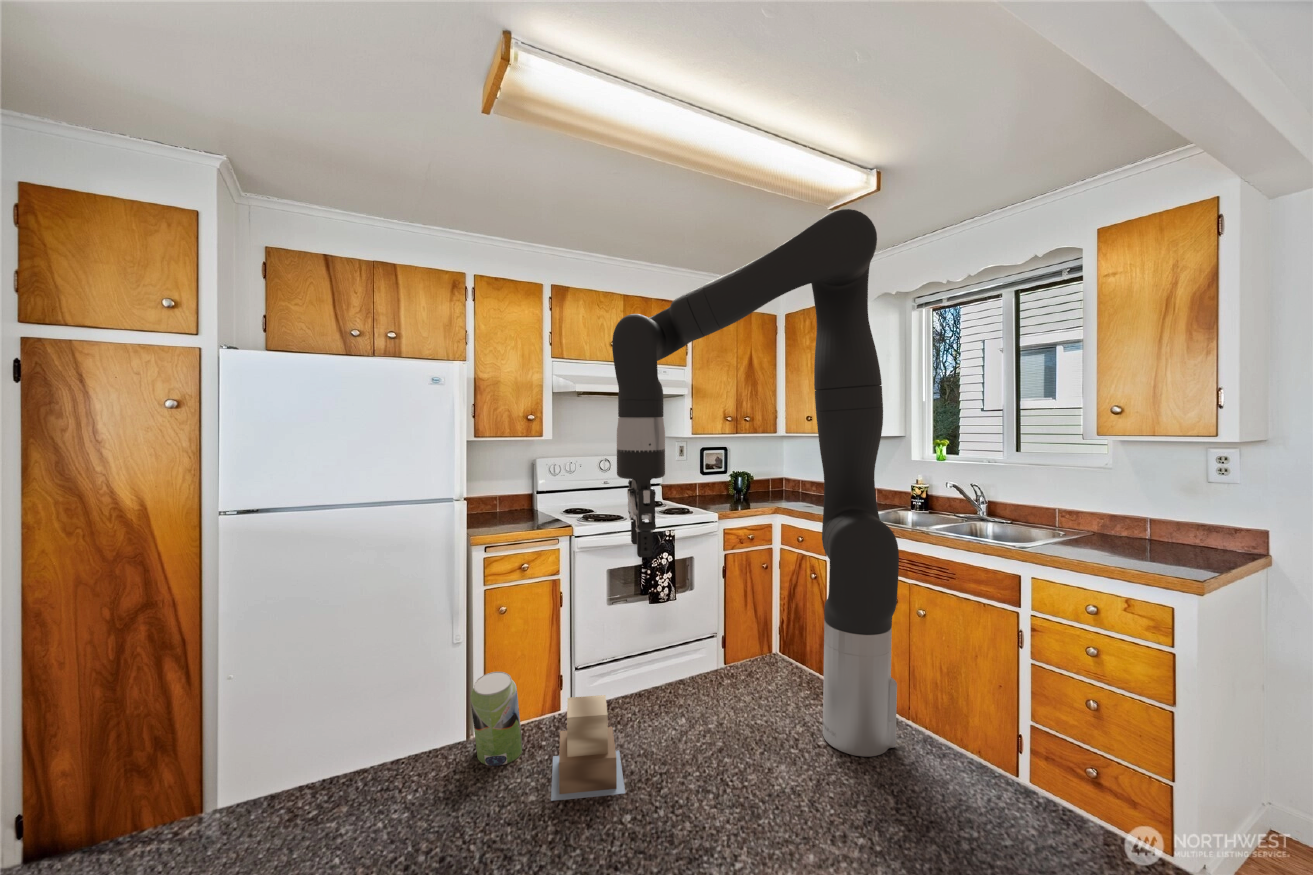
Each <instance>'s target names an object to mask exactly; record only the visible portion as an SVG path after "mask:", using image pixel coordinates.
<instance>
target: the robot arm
mask: <svg viewBox="0 0 1313 875" xmlns="http://www.w3.org/2000/svg"><path fill="white" fill-rule="evenodd" d="M877 244H878V233H877V229H876V226H875V224H874V223H873V220H872V219H871V218H869V216H868V215H866V214H864V213H863V212H861V211H858V210H856V209H852V208H841V209H836V210H833V211H831V212H829V213H827V214H825V215H824V216H822V217H821V218H819V219H818V220H817V221H815V222H813V223H812V224H810V225H809V226H807V227H806V228H805V229H803V230H802V231H800V232H799V233H797V234H796V235H794V236H792V237H791V238H790V239H788V240H787V241H785V242H784V243H782V244H781V245H778V246H776V248H774V249H772V250H771V251H768V252H767V253H766V254H763V255H762V256H760V257H757V258H755V259H754V260H752V261H751V262H749V263H747V264H745V265H743V266H741V267H738V268H736V269H735V270H733V271H731V272H728V273H726V274H724V275H722V276H720V277H718V278H715V279H714V280H711V281H709V282H707V283H704V284H702V285H701V286H698V287H696V288H694V289H692V290H689V291H688V292H686V293H683V294H681V295H680V296H677V297H676V298H675V299H673V300H672V302H671V303H670V306H669V307H667V308H666V309H663V310H661V311H660V312H658V313H656V314H653V315H652V316H649V317H648V316H645V315H643V314H639V313H631V314H628V315H625V316H624V317H622V318H621V319H620V320H619V321H618V322H617V323H616V325H615V327H614V330H613V332H612V333H613V334H612V340H611V342H612V343H611V344H612V345H611V347H612V348H611V349H612V350H611V351H612V359H613V364H614V371H615V377H616V382H617V386H618V395H617V396H618V397H617V403H618V404H617V409H618V410H617V412H618V413H617V415H618V418H617V427H616V475H617V477H618V478H621V479H624V480H628V483H627V484H628V488H627V491H626V494H627V511H628V512H627V513H628V517H629V518H628V519H629V520H630V542H631V544H632V545H636V555H637V557H639V558H651V557H652V555H653V532H654V531H655V530H656V528H657V525H656V524H657V523H656V495H657V494H656V490H655V489H654V488H653V487H652V484H651V481H652V480H653V479H661V478H663V477H664V476H665V475H666V431H665V423H664V422H665V421H664V420H665V419H664V389H663V385H662V382H660V380H659V376H658V374H659V373H658V371H659V370H658V361H661V360H662V359H664V358H667V357H668V356H670V355H672V354H674V353H675V352H677V351H679V350H681V349H683V348H684V347H686V346H687V345H688V344H690V343H693V342H694V341H697V340H699V339H702V338H705V337H707V336H709V335H712V334H713V333H716V332H718V331H720V330H722V329H724V328H726V327H729V326H731V325H733V324H735V323H737V322H739V321H740V320H743V319H744V318H746V317H747V316H749V315H750V314H752V313H754V312H755V311H758V309H760V308H762V307H764V306H765V305H766V304H768V303H770V302H772V301H774V300H775V299H777V298H779V297H781V296H783V295H785V294H787V293H789V292H791V291H794V290H796V289H798V288H802V287H804V286H807V285H810V284H811V288H812V289H811V290H812V295H813V296H812V297H813V302H814V308H815V309H814V310H815V317H816V318H815V319H816V334H815V335H816V336H815V348H814V364H813V365H814V366H813V367H814V368H813V369H814V370H813V374H814V375H813V376H814V378H813V381H814V383H813V386H814V403H815V404H814V405H815V406H814V407H815V416H816V425H817V426H816V427H817V434H818V443H819V452H820V459H821V464H822V471H823V473H822V474H823V514H822V529H821V541H822V547H823V550H824V553H825V555H826V556H827V559H829V571H828V572H829V573H828V574H829V577H828V578H829V581H828V595H827V599H826V600H825V602H824V608H823V609H824V617H823V618H824V619H823V622H824V623H823V624H824V625H823V626H824V627H823V630H824V631H823V689H822V691H823V695H822V696H823V697H822V700H823V702H822V736H823V738H824V740H825V741H826V742H827V744H829V745H830V746H831V747H833V748H834V749H836V750H838V751H839V752H842V753H844V754H847V755H848V754H849V755H852V756H857V757H876V756H881V755H882V754H884V753H886V752H887V751H888V750H889V749H891V748H896V747H897V746H896V744H897V705H898V704H897V701H898V698H897V697H898V696H897V695H898V693H897V692H898V683H897V681H896V680H895V678H893V677H892V639H893V638H892V637H893V636H892V630H893V629H892V628H893V626H892V625H893V615H894V614H895V612H896V609H897V604H898V588H899V572H900V571H899V570H900V569H899V568H900V556H899V555H900V554H899V553H900V552H899V551H900V550H899V545H898V541H897V538H896V535H895V534H894V532H893V530H892V529H891V528H890V526H888V525H887V524H886V523H884V522H883V521H882V520H881V519H880V513H879V508H878V502H877V492H876V484H875V472H876V470H875V469H876V463H877V458H878V452H879V448H880V444H881V438H882V433H883V426H884V403H883V402H884V400H883V386H882V384H883V383H882V375H881V368H880V362H879V356H878V353H877V349H876V348H877V347H876V345H875V340H874V337H873V333H872V330H871V329H872V328H871V325H870V319H869V318H870V317H869V304H868V303H869V291H868V290H869V276H870V275H869V274H870V267H871V262H872V260H873V258H874V256H875V252H876V250H877ZM646 520H647V521H646Z"/></svg>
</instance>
